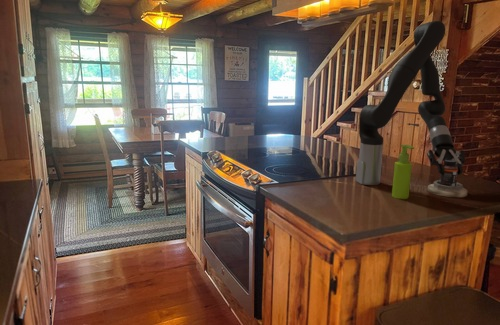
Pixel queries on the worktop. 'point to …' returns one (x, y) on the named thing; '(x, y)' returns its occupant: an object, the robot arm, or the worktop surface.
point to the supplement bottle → (449, 173)
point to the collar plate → (442, 193)
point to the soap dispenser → (402, 175)
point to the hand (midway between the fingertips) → (451, 173)
